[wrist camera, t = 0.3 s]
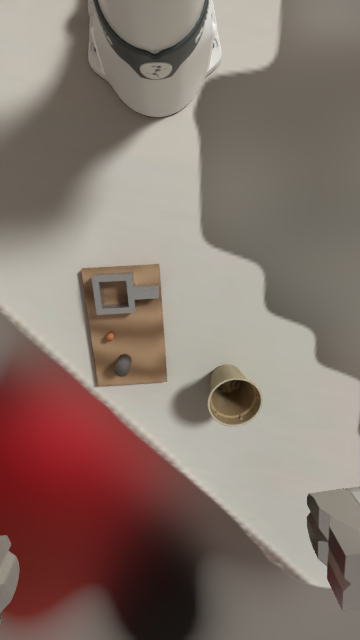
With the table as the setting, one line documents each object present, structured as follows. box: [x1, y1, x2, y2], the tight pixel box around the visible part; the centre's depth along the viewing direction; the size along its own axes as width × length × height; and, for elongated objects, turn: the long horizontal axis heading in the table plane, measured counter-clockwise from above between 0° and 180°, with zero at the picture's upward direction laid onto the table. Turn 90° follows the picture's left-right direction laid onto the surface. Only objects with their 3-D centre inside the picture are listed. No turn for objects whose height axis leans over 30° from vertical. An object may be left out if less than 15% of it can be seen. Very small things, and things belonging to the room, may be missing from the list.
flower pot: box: [208, 365, 263, 426], centre depth 54 cm, size 9×9×9 cm
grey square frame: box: [91, 271, 159, 315], centre depth 49 cm, size 10×6×3 cm, turn 93°
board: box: [81, 264, 167, 386], centre depth 52 cm, size 22×13×6 cm, turn 3°
